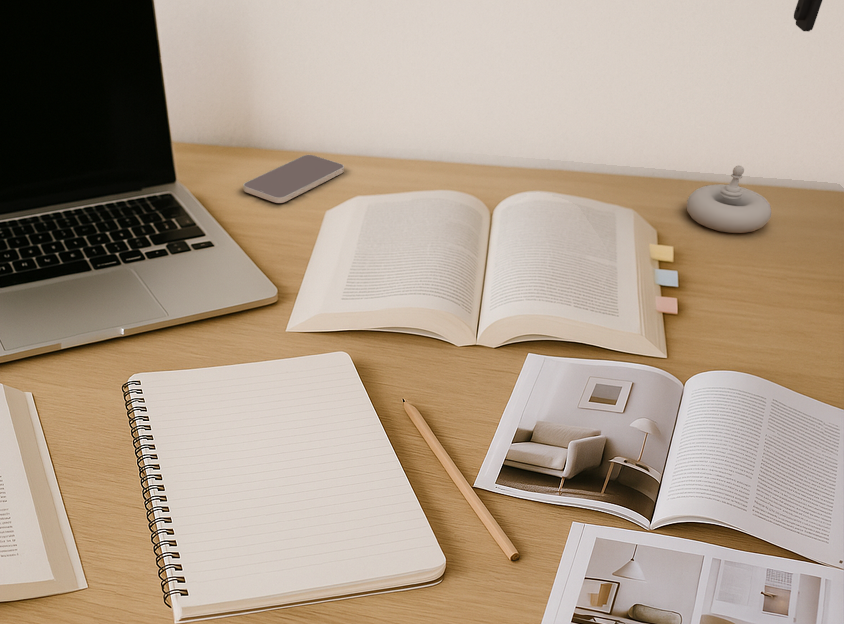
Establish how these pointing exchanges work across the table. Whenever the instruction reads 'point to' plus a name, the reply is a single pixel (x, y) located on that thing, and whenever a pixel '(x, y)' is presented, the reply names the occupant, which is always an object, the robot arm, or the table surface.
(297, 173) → the smartphone
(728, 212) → the donut
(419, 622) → the table surface
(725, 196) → the pawn
